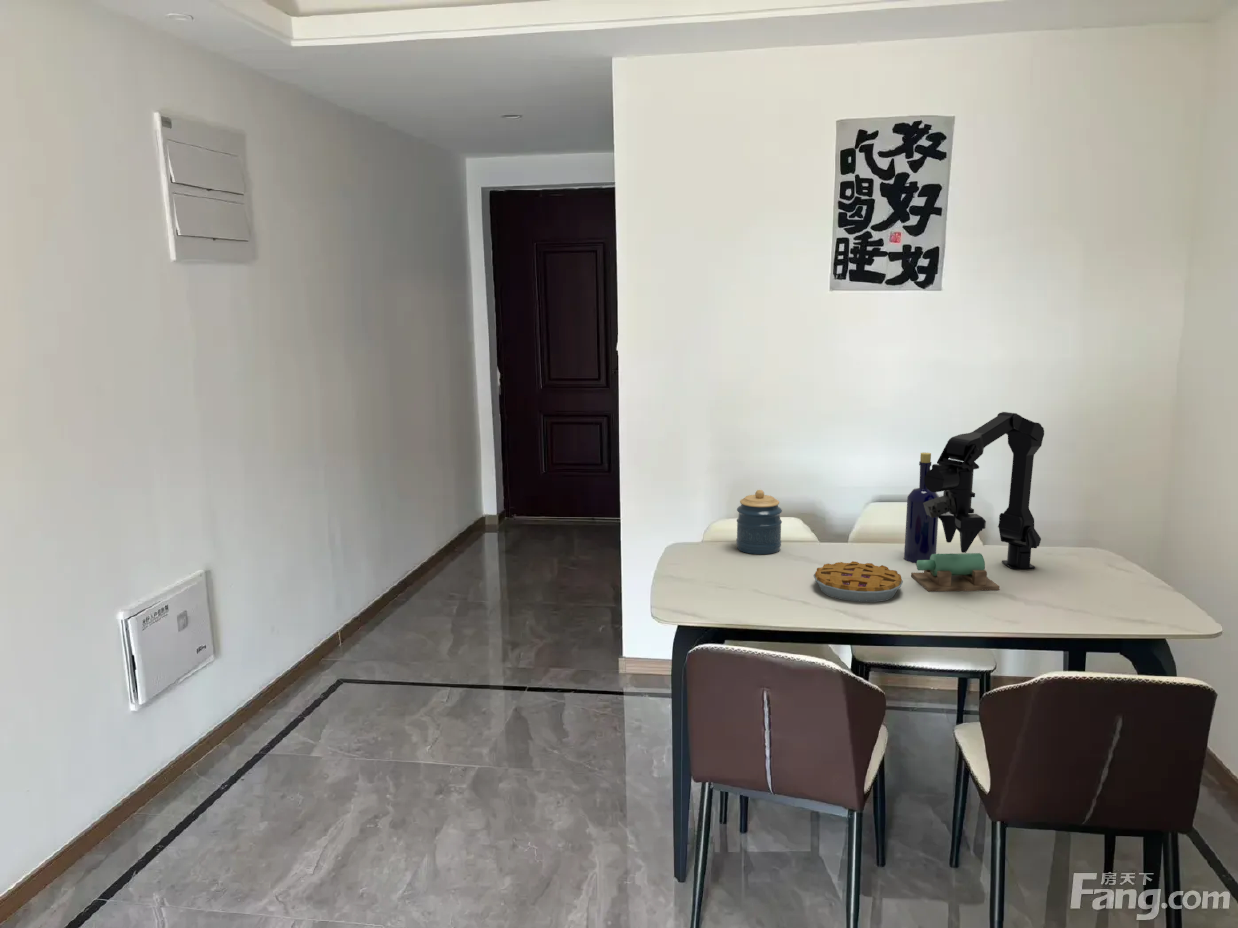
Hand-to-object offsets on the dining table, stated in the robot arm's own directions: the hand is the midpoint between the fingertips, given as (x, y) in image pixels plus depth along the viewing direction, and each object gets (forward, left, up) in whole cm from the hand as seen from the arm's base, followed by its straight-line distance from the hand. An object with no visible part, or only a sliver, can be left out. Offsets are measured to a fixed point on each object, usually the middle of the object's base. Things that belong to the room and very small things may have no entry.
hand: (956, 547), depth 225 cm
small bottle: (0, -1, -7) cm, 8 cm away
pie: (+3, -26, -10) cm, 28 cm away
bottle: (-21, -1, -10) cm, 23 cm away
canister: (-34, -44, -10) cm, 56 cm away
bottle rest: (0, 0, -10) cm, 10 cm away
